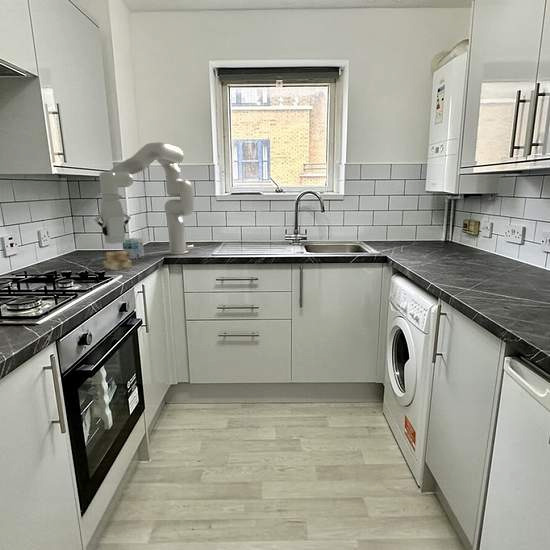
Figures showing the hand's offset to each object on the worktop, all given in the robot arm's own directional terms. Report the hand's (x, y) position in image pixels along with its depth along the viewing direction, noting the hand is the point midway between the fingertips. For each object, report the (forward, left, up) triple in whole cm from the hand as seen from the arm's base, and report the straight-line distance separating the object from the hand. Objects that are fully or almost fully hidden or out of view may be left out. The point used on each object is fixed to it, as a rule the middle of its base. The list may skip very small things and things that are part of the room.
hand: (114, 234), depth 190 cm
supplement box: (0, 0, -4) cm, 4 cm away
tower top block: (0, 0, -13) cm, 13 cm away
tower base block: (0, 0, -17) cm, 17 cm away
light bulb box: (-15, -23, -17) cm, 32 cm away
